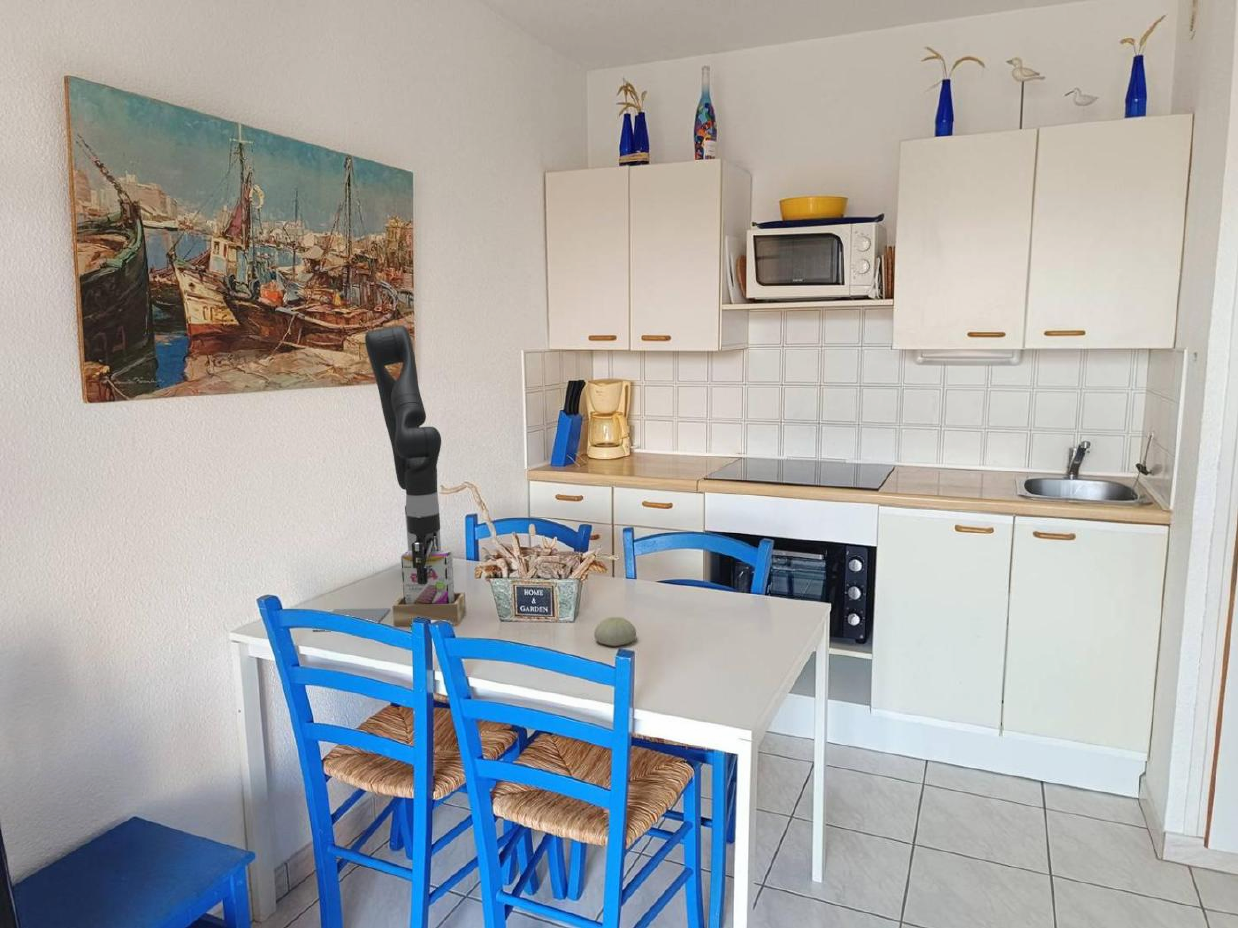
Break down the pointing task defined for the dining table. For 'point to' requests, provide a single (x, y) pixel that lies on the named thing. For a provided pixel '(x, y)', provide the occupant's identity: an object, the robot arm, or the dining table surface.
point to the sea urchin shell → (615, 631)
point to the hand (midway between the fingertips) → (427, 578)
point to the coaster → (364, 613)
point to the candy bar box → (429, 580)
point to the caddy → (429, 611)
